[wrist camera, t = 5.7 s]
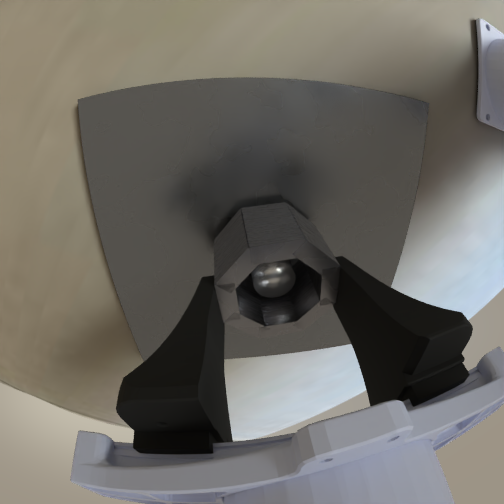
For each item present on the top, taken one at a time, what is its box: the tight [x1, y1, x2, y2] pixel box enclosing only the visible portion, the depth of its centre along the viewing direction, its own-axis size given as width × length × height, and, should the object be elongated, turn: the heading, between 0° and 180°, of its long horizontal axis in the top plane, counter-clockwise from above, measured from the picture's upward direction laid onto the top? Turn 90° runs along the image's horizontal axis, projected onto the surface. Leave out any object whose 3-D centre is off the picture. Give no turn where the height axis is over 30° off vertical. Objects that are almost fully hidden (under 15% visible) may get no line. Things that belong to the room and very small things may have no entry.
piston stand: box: [78, 78, 429, 361], centre depth 15 cm, size 18×18×3 cm
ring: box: [214, 202, 340, 338], centre depth 13 cm, size 5×5×4 cm
